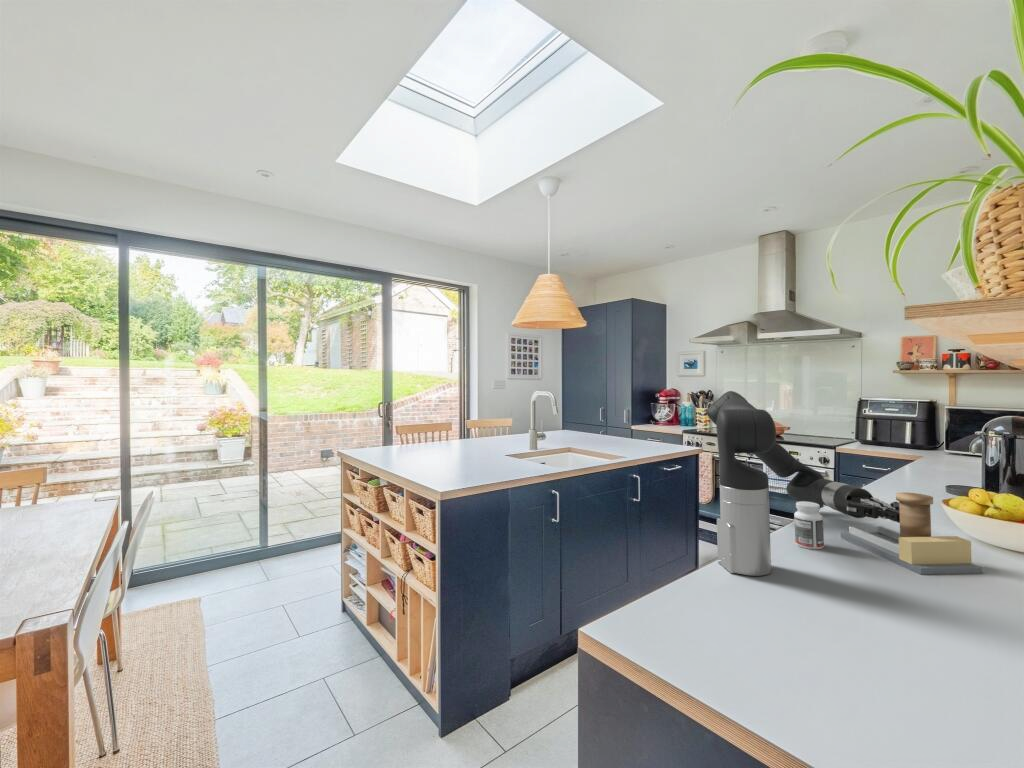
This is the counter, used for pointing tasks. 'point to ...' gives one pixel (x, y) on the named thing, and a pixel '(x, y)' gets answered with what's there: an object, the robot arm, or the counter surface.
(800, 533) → the pill bottle
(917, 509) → the knob
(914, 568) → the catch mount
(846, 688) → the counter surface
